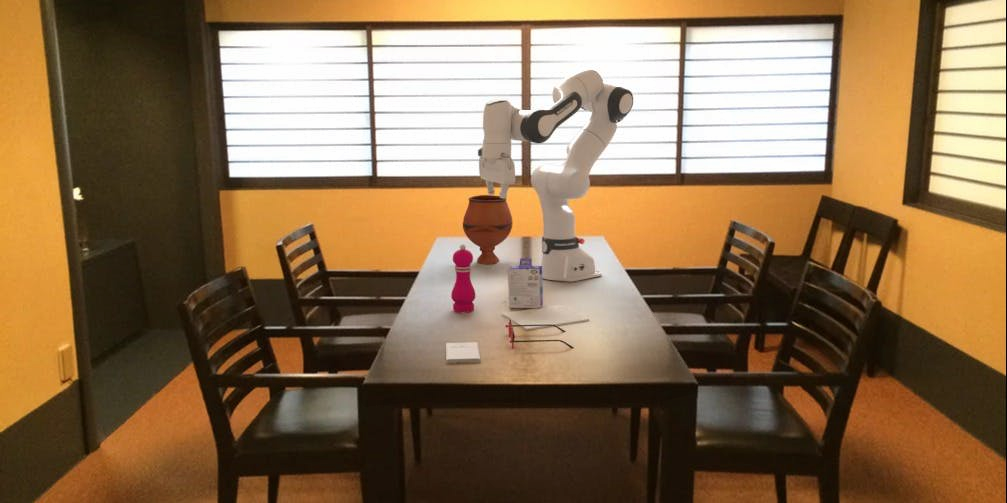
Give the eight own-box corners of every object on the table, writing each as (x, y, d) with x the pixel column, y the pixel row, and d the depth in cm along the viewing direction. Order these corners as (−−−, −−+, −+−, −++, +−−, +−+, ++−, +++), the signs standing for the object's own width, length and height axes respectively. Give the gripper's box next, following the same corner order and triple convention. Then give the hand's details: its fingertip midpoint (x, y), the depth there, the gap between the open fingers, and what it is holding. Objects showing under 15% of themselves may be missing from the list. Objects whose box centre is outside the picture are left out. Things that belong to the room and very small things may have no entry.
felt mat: (561, 306, 229) (561, 305, 229) (589, 320, 215) (589, 319, 215) (501, 314, 221) (501, 313, 221) (526, 330, 207) (526, 328, 207)
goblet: (477, 269, 277) (476, 202, 272) (454, 259, 293) (453, 196, 288) (522, 263, 286) (522, 198, 281) (497, 254, 303) (497, 192, 297)
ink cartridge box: (543, 304, 230) (542, 257, 228) (541, 308, 225) (540, 261, 223) (512, 304, 232) (510, 257, 230) (508, 308, 227) (507, 260, 225)
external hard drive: (446, 365, 182) (445, 348, 194) (480, 364, 183) (477, 347, 195) (446, 359, 182) (445, 342, 194) (480, 358, 182) (477, 341, 195)
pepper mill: (479, 307, 229) (478, 242, 224) (470, 314, 222) (469, 247, 218) (457, 305, 231) (456, 241, 227) (447, 311, 224) (446, 246, 220)
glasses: (505, 334, 205) (505, 316, 204) (565, 332, 206) (565, 315, 205) (509, 351, 191) (509, 332, 190) (574, 349, 192) (574, 331, 191)
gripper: (520, 154, 227) (520, 199, 230) (493, 149, 245) (493, 192, 248) (501, 154, 224) (501, 200, 227) (475, 150, 243) (475, 193, 246)
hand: (497, 196), depth 238 cm, fingers open, 8 cm apart
